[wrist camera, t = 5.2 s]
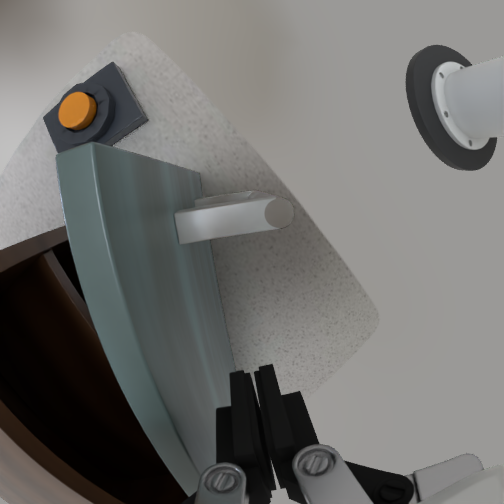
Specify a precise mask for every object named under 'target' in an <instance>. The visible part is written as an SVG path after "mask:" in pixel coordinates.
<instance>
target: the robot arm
mask: <svg viewBox="0 0 504 504" xmlns="http://www.w3.org/2000/svg"><path fill="white" fill-rule="evenodd" d="M431 90H432V97H433V102H434V106H435V109H436V112H437V114H438V117H439V119H440V121H441V123H442V125H443V127H444V128H445V130H446V131H447V133H448V134H449V136H450V137H451V138H452V139H453V140H454V141H455V142H456V143H457V144H458V145H460V146H461V147H463V148H465V149H469V150H477V149H481V148H482V147H484V146H485V145H486V143H487V142H488V140H489V138H490V137H504V56H503V57H499V58H495V59H492V60H488V61H485V62H482V63H478V64H475V65H472V66H469V67H466V68H465V67H464V66H462V65H460V64H458V63H456V62H445V63H443V64H441V65H439V66H438V67H437V68H436V69H435V71H434V73H433V76H432V82H431ZM254 375H255V381H256V387H257V393H258V398H259V403H258V400H257V396H256V393H255V389H254V385H253V382H252V378H251V375H250V373H244V370H241V371H236V372H231V373H229V378H230V397H231V406H226V407H219V408H217V409H216V464H214V465H211V466H210V467H208V468H207V469H205V471H204V472H203V473H202V474H201V477H200V479H199V484H198V488H197V491H196V492H195V493H193V494H192V495H191V496H190V497H188V498H187V499H186V500H184V501H183V502H182V503H181V504H269V503H270V502H271V501H270V498H272V494H271V491H272V490H276V485H275V479H274V474H273V469H272V464H273V467H274V470H275V473H276V476H277V479H278V482H279V485H280V488H281V489H282V488H286V490H287V493H288V497H289V499H291V500H294V501H296V502H298V503H300V504H504V464H502V465H497V466H494V467H491V468H487V469H483V466H482V464H481V461H480V460H479V459H478V457H477V456H475V455H473V454H463V455H460V456H457V457H455V458H452V459H449V460H447V461H444V462H441V463H438V464H436V465H432V466H429V467H426V468H423V469H420V470H416V471H414V472H413V474H410V475H406V476H403V475H400V474H395V473H390V472H385V471H381V470H377V469H373V468H369V467H365V466H362V465H358V464H354V463H351V462H347V461H344V460H343V459H342V457H341V456H340V454H339V453H338V452H337V451H336V450H335V449H334V448H332V447H330V446H328V445H323V444H319V442H318V439H317V436H316V433H315V430H314V428H313V425H312V422H311V420H310V417H309V414H308V411H307V408H306V406H305V403H304V400H303V397H302V395H301V392H300V391H298V392H294V393H290V394H285V395H281V393H280V389H279V386H278V382H277V378H276V375H275V371H274V367H273V364H269V365H265V366H260V367H259V371H255V372H254ZM259 404H260V407H259ZM271 461H272V464H271Z"/></svg>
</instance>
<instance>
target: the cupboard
mask: <svg viewBox="0 0 504 504" xmlns="http://www.w3.org/2000/svg"><path fill="white" fill-rule="evenodd" d="M0 497H1V498H2V499H4V500H5V501H6V502H8V503H9V504H181V503H182V502H183V501H184V500H186V499H187V498H188V497H189V496H188V495H187V494H186V493H185V491H184V490H183V489H182V487H181V486H180V485H179V483H178V482H177V481H176V479H175V478H174V476H173V475H172V474H171V472H170V471H169V469H168V468H167V466H166V465H165V463H164V462H163V460H162V459H161V457H160V456H159V454H158V453H157V451H156V450H155V448H154V447H153V445H152V443H151V442H150V440H149V438H148V437H147V435H146V433H145V432H144V430H143V428H142V427H141V425H140V423H139V421H138V420H137V418H136V416H135V414H134V412H133V410H132V409H131V407H130V405H129V403H128V401H127V399H126V397H125V395H124V393H123V391H122V389H121V387H120V385H119V383H118V381H117V379H116V377H115V374H114V372H113V370H112V368H111V366H110V363H109V361H108V359H107V356H106V354H105V352H104V349H103V347H102V344H101V342H100V339H99V337H98V334H97V332H96V329H95V326H94V324H93V321H92V318H91V315H90V312H89V309H88V307H87V304H86V301H85V297H84V294H83V291H82V288H81V285H80V281H79V278H78V274H77V271H76V267H75V263H74V259H73V256H72V251H71V247H70V243H69V239H68V234H67V230H66V225H65V226H62V227H60V228H57V229H54V230H51V231H48V232H46V233H43V234H40V235H38V236H35V237H32V238H30V239H27V240H25V241H22V242H19V243H17V244H14V245H12V246H9V247H7V248H5V249H2V250H0Z"/></svg>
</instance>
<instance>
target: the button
mask: <svg viewBox="0 0 504 504" xmlns="http://www.w3.org/2000/svg"><path fill="white" fill-rule="evenodd" d="M95 114H96V103H95V101H94V99H93V98H92V97H90V96H88V95H86V94H85V93H83V92H75V93H72V94H70V95H69V96H67V97H66V98H65V100H64V101H63V102H62V104H61V106H60V109H59V120H60V122H61V124H62V125H63V126H65V127H67V128H71V129H74V130H81V129H83V128H85V127H87V126H88V125H89V124H90V123H91V122H92V121H93V119H94V117H95Z"/></svg>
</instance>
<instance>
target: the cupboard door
mask: <svg viewBox="0 0 504 504" xmlns="http://www.w3.org/2000/svg"><path fill="white" fill-rule="evenodd" d="M56 167H57V175H58V183H59V190H60V197H61V203H62V209H63V214H64V220H65V225H66V230H67V234H68V239H69V243H70V247H71V251H72V256H73V259H74V263H75V267H76V271H77V274H78V278H79V281H80V285H81V288H82V291H83V294H84V297H85V301H86V304H87V307H88V309H89V312H90V315H91V318H92V321H93V324H94V326H95V329H96V332H97V334H98V337H99V339H100V342H101V344H102V347H103V349H104V352H105V354H106V356H107V359H108V361H109V363H110V366H111V368H112V370H113V372H114V374H115V377H116V379H117V381H118V383H119V385H120V387H121V389H122V391H123V393H124V395H125V397H126V399H127V401H128V403H129V405H130V407H131V409H132V410H133V412H134V414H135V416H136V418H137V420H138V421H139V423H140V425H141V427H142V428H143V430H144V432H145V433H146V435H147V437H148V438H149V440H150V442H151V443H152V445H153V447H154V448H155V450H156V451H157V453H158V454H159V456H160V457H161V459H162V460H163V462H164V463H165V465H166V466H167V468H168V469H169V471H170V472H171V474H172V475H173V476H174V478H175V479H176V481H177V482H178V483H179V485H180V486H181V487H182V489H183V490H184V491H185V493H186V494H187V495H188V496H189V497H190V496H191V495H192V494H193V493H195V492H196V491H197V488H198V484H199V479H200V477H201V474H202V473H203V472H204V471H205V469H207V468H208V467H210V466H211V465H214V464H216V409H217V408H219V407H226V406H231V397H230V378H229V373H231V372H236V369H235V364H234V360H233V355H232V351H231V346H230V341H229V336H228V332H227V327H226V322H225V317H224V312H223V307H222V302H221V297H220V292H219V286H218V281H217V276H216V270H215V265H214V259H213V254H212V248H211V242H210V240H212V239H218V238H224V237H231V236H237V235H243V234H250V233H256V232H263V231H269V230H276V229H282V228H285V227H287V226H288V225H289V224H290V223H291V222H292V221H293V218H294V207H293V205H292V203H291V202H290V201H289V200H287V199H285V198H283V197H279V196H276V195H272V194H269V193H266V192H262V191H259V190H250V191H243V192H236V193H230V194H223V195H217V196H211V197H205V198H203V194H202V188H201V181H200V174H199V173H198V172H195V171H192V170H189V169H186V168H183V167H180V166H176V165H173V164H170V163H167V162H163V161H160V160H157V159H153V158H150V157H147V156H143V155H140V154H136V153H133V152H129V151H126V150H122V149H118V148H115V147H111V146H107V145H103V144H100V143H96V142H89V143H86V144H83V145H80V146H77V147H75V148H72V149H69V150H66V151H64V152H61V153H59V154H57V155H56Z"/></svg>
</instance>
